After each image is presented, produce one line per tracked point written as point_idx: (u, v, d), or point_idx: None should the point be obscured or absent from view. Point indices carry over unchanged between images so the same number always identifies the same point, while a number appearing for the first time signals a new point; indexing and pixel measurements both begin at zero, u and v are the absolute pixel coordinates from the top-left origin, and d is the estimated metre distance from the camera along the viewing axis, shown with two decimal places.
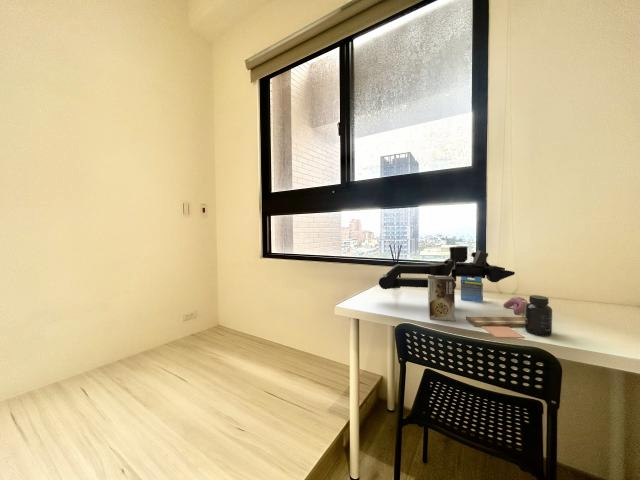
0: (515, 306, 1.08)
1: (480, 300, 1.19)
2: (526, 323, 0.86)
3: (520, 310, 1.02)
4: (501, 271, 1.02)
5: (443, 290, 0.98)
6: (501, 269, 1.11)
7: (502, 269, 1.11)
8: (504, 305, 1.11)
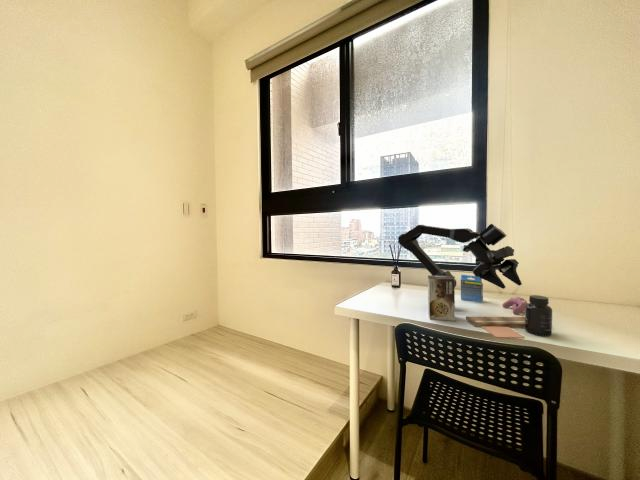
0: (514, 306, 1.08)
1: (480, 300, 1.19)
2: (526, 323, 0.86)
3: (519, 310, 1.02)
4: (492, 275, 0.92)
5: (443, 290, 0.98)
6: (517, 282, 0.95)
7: (518, 283, 0.95)
8: (503, 305, 1.11)
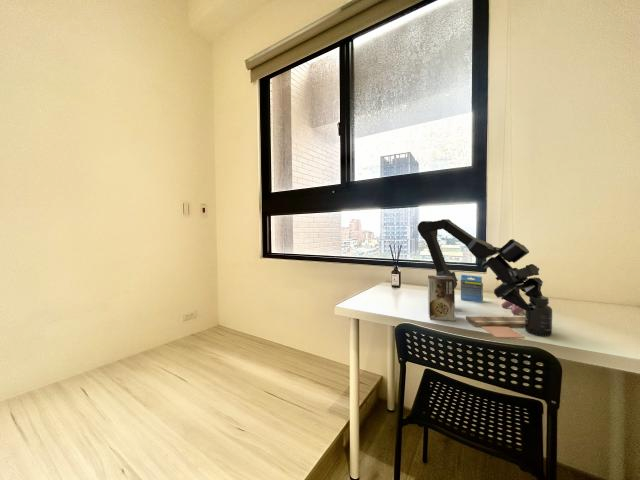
0: (513, 306, 1.08)
1: (480, 300, 1.19)
2: (526, 323, 0.86)
3: (518, 310, 1.02)
4: (516, 296, 0.85)
5: (443, 290, 0.98)
6: None
7: None
8: (502, 305, 1.11)
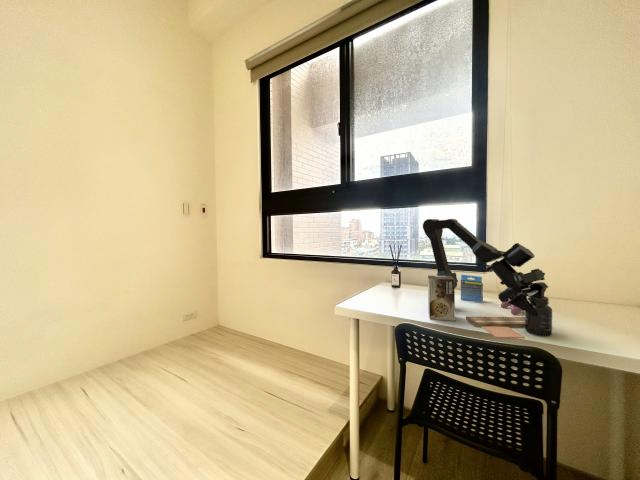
0: (512, 306, 1.08)
1: (480, 300, 1.19)
2: (526, 323, 0.86)
3: (517, 310, 1.02)
4: (523, 301, 0.84)
5: (443, 290, 0.98)
6: None
7: None
8: (501, 305, 1.11)
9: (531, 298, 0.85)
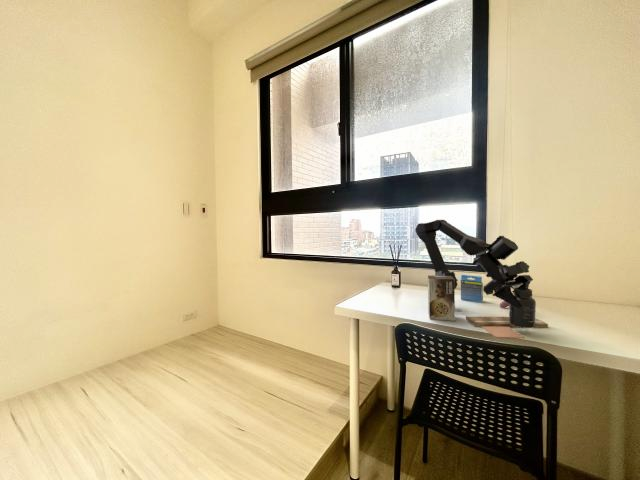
0: None
1: (480, 300, 1.19)
2: (510, 315, 0.87)
3: None
4: (507, 293, 0.85)
5: (443, 290, 0.98)
6: None
7: None
8: (500, 305, 1.11)
9: (515, 290, 0.85)
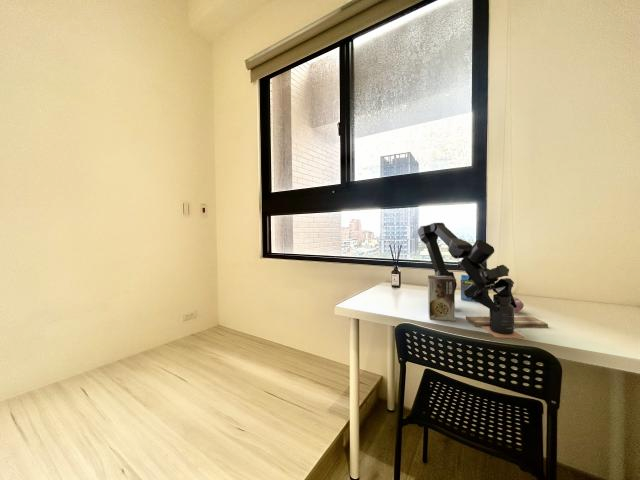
0: None
1: None
2: (490, 321, 0.87)
3: (514, 310, 1.02)
4: (485, 297, 0.85)
5: (443, 290, 0.98)
6: (512, 304, 0.87)
7: (513, 305, 0.87)
8: None
9: (494, 297, 0.86)
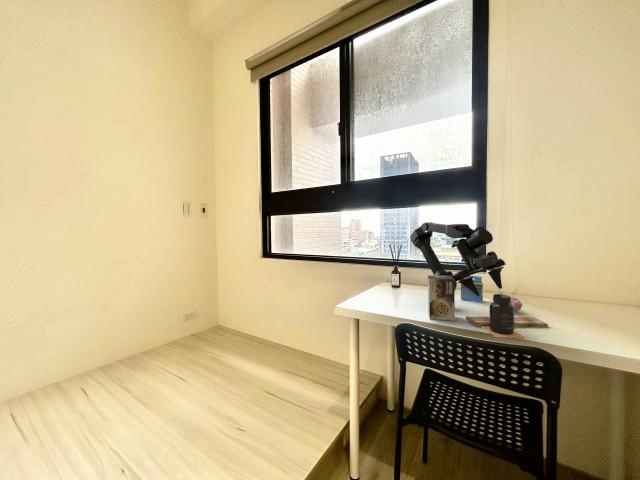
0: None
1: (480, 300, 1.19)
2: (490, 321, 0.87)
3: None
4: (469, 283, 0.95)
5: (443, 290, 0.98)
6: (498, 285, 0.96)
7: (499, 286, 0.95)
8: None
9: (494, 297, 0.86)
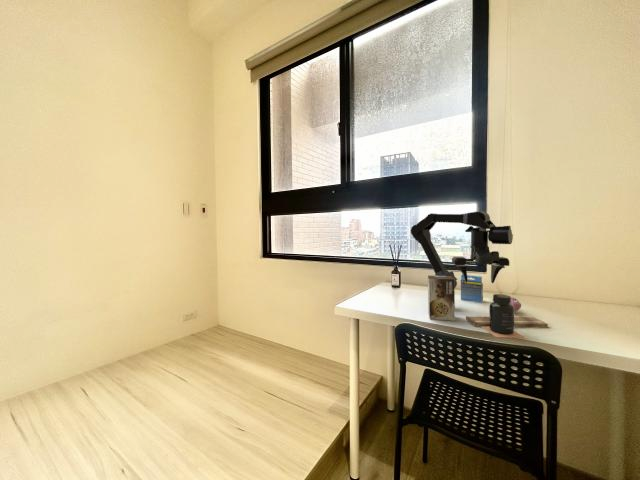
0: None
1: (480, 300, 1.19)
2: (490, 321, 0.87)
3: None
4: None
5: (443, 290, 0.98)
6: (491, 279, 1.01)
7: (491, 280, 1.01)
8: None
9: (494, 297, 0.86)
